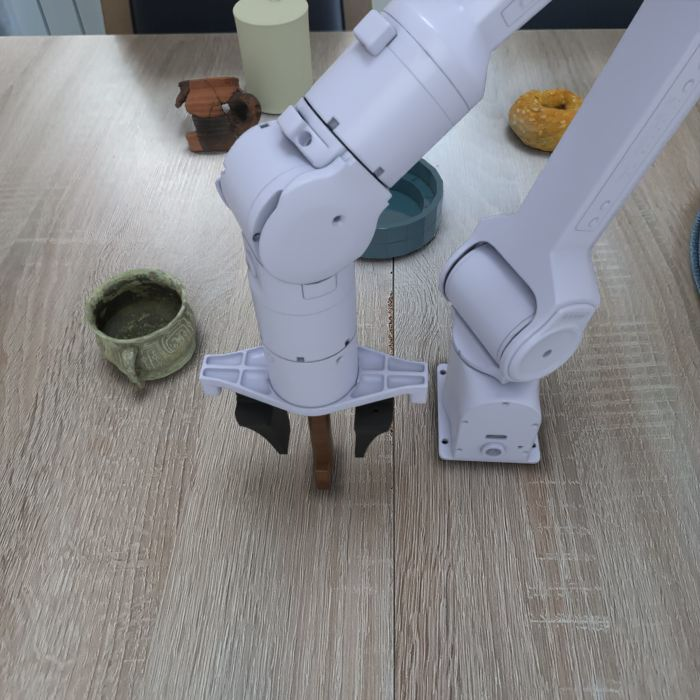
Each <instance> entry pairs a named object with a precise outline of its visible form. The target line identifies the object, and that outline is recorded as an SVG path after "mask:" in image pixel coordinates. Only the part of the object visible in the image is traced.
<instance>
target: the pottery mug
mask: <svg viewBox="0 0 700 700" xmlns="http://www.w3.org/2000/svg"><path fill="white" fill-rule="evenodd" d="M239 82H240V78H238V77H235V76H219V77H217V76H215V77H206V78H196V79H195V78H194V79H187V80H182V81H179V82H178V85H177V87H178V88H179V93H178V94H177V95H176V98H175V103H174V107H175V108H176V109H180V108H181V107H182V106H183V105H184V108H185V112H186V113H187V114H189V115H191V120H192V123H193V126H194V128H195V130H194V131H187V132H186V133H185V139H186V141H187V145H188V146H189V149H190V151H191V152H203V151H204V152H208V151H211V152H216V151H217V152H219V151H229V150H230V148H231V147H232V146H233V144H234V143H235V142H236V134H237V136H239V137H240V136H241V135H242V134H243V133H244V132H246V131H247V130H248V129H250V128H252V127H253V126H255V125H258V124H260V123H259V122H260V120H261V118H262V113H263V112H262V109H261V105H260V102H259V100H258V99H257V98H256V97H255V96H254V95H252V94H249V93H247V92H244V90H243V89H242V88H241V87H240V83H239ZM225 105H227V106H228V108H229V109H228V110H227V112H226V110H225V109H224V107H223V106H225Z"/></svg>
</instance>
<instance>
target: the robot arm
mask: <svg viewBox="0 0 700 700" xmlns="http://www.w3.org/2000/svg"><path fill="white" fill-rule="evenodd" d="M550 2H553V0H390V1H389V3H388V4H387V5H386V6H385V7H383V9H382V10H381V11H380V12H379V11H378V10H376V9H371V10H369V12H368V13H366V15H365V16H364V17H363V18H361V20H360V21H359V22H358V23H357V24H356V26H355V27H354V28H353V30H352V34H353V36H354V38H355V39H354V40H353V41H352V42H351V43H350V45H348V47H346V49H345V50H344V51H343V52H342V53H341V54H340V55H339V57H337V58H336V60H334V62H333V63H332V64H331V65H330V66H329V67H328V68H327V69H326V70H325V72H324V73H322V75H321V76H320V77H318V79H316V81H315V82H313V86H312V87H311V88H310V89H309V90H308V91H307V92H306V93H305V94H304V96H305V97H303V96H302V97H301V98H300V100H299V101H298V102H297V103H296V105H295V106H292V105H290V106H289V107H288V108H287V109H286V110H285V111H284V112H283V113H282V114H279V116H278V117H277V118H276V119H271V120H267V121H265V122H264V121H263V122H260V123H258V124H257V125H255V126H253V127H252V128H250V129H248V130H247V131H246V132H244V133H243V134H242V135H241V136H239V137H238V138H237V139H235V141H234V142H235V143H234V144H233V146H232V147H231V148H230V149H229V150H228V152H227V153H226V155H225V158H224V160H223V162H222V165H223V167H224V171H223V170H221V171H220V176H219V177H217V178H216V179H215V181H214V185H215V188H216V191H217V194H218V195H219V197H220V199H221V200H222V202H223V203H224V205H225V206H226V207H227V208H228V209H229V210H230V211H231V212H232V215H233V216H234V218H235V220H236V222H237V224H238V226H239V228H240V230H241V237H242V242H243V248H244V252H245V253H244V254H245V262H246V266H247V280H248V285H249V289H250V294H251V299H252V305H253V309H254V313H255V318H256V319H255V320H256V323H257V329H258V332H259V336H260V342H261V344H260V345H256V346H253V347H249V348H245V349H240V350H235V351H231V352H226V353H215V354H214V353H213V354H211V353H209V354H208V353H207V354H204V356H203V358H202V359H203V360H202V363H201V368H200V371H199V374H198V381H199V384H200V387H201V389H202V392H203V395H204V396H215V397H216V396H217V397H218V396H220V395H221V393H222V391H223V389H224V390H229V391H232V392H234V393H235V396H236V398H235V401H236V403H235V409H234V418H235V421H236V422H237V424H238V426H239V427H242V428H247V429H249V430H250V431H252V432H255V433H257V434H258V435H260V436H261V437H263V438H264V439H265V441H267V442H268V443H269V444H270V445H271V446H272V447H273V449H274V450H275V451H276V453H278V454H279V455H288V454H289V453H288V452H289V446H290V438H291V432H292V431H291V420H290V416H289V413H292V414H295V415H298V416H304V417H307V416H321V415H326V414H330V415H331V414H332V413H337V412H341V411H345V410H348V409H352V408H354V421H353V431H354V433H355V441H354V453H353V454H354V458H359V459H363V458H365V456H366V453H367V450H368V448H369V447H370V445H371V444H372V442H373V441H374V440H375V439H376V438H377V437H379V436H380V435H382V434H385V433H388V432H389V430H390V429H391V426H392V424H393V421H394V402H395V401H394V398H395V397H399V396H408V400H409V402H410V403H412V404H421V405H425V404H427V400H428V399H427V398H428V391H429V363H428V362H427V361H419V360H410V359H406V358H403V357H400V356H399V357H398V356H395V355H392V354H389V353H386V352H384V351H379V350H377V349H374V348H370V347H368V346H364V345H361V344H358V323H357V322H358V321H357V318H358V317H357V291H356V290H357V288H356V285H357V283H356V264H355V261H357V260H358V259H360V258H361V257H360V256H362V254H363V253H364V252H365V250H366V249H367V247H368V246H369V244H370V242H371V240H372V238H373V236H374V233H375V230H376V226H377V221H378V218H379V216H380V214H381V213H382V211H383V210H384V209H385V208H386V207H387V206H388V205H389V203H388V200H389V199H390V198H391V197H392V194H391V193H390V192H389V188H391V187H392V186H393V185H394V184H395V183H396V182H397V181H398V180H399V179H400V178H401V177H402V176H403V175H404V174H406V173H407V172H408V171H409V170H410V169H411V168H412V167H413V166H414V165H415V164H416V163H417V162H418V161H419V160H420V159H421V158H423V157H425V155H426V154H427V153H428V152H429V151H430V150H432V149H433V148H434V146H435V145H437V144H438V143H439V142H440V141H441V140H442V139H443V138H444V137H445V136H446V135H447V134H448V133H449V132H450V131H451V130H453V128H454V127H455V126H456V125H458V123H459V122H461V121H462V119H463V118H465V116H467V115H468V114H469V113H470V111H472V110H473V109H474V108H475V107H476V106H477V105H478V104H479V103H480V102H481V101H482V100H483V98H484V96H485V95H484V94H485V91H486V86H487V77H488V70H489V63H490V58H491V55H492V53H493V52H494V51H495V50H496V49H498V48H499V47H500V46H501V45H503V44H504V43H505V42H506V41H507V40H508V39H510V37H512V36H513V35H514V34H515V33H516V32H518V30H520V29H521V28H522V27H523V26H524V25H525V24H526V23H528V22H529V21H530V20H531V19H532V18H533V17H535V16H536V15H537V14H538V13H539V12H540V11H541V10H543V9H544V8H545V7H546V6H547V5H549V4H550ZM699 100H700V0H643V1H642V3H641V5H640V6H639V8H638V10H637V11H636V13H635V15H634V16H633V18H632V20H631V22H630V23H629V25H628V27H626V29H625V32H624V33H623V35H622V37H621V38H620V40H619V42H618V43H617V45H616V47H615V48H614V50H613V52H612V53H611V55H610V57H609V58H608V60H607V61H606V63H605V65H604V66H603V68H602V70H601V71H600V73H599V75H598V77H597V78H596V79H595V81H594V82H593V85H592V86H591V88H590V90H589V91H588V93H587V94H586V96H585V98H584V101H583V103H582V105H581V106H580V108H579V110H578V111H577V113H576V115H575V116H574V118H573V120H572V121H571V123H570V125H569V126H568V128H567V130H566V131H565V133H564V135H563V136H562V138H561V139H560V141H559V143H558V144H557V146H556V148H555V149H554V151H552V153H551V154H550V156H549V157H548V159H547V161H546V163H545V164H544V165H543V168H542V169H541V171H540V172H539V174H538V176H537V178H536V179H535V181H534V183H533V184H532V186H531V188H530V189H529V191H528V192H527V194H526V196H525V198H524V199H523V201H522V203H521V204H520V206H519V208H518V209H517V211H516V212H515V213H514V212H512V213H501V214H494V215H490V216H486V217H483V218H480V219H479V221H478V223H477V225H476V227H475V228H474V229H473V232H472V233H471V234H470V236H469V237H468V238H467V239H466V240H465V241H464V242H463V244H461V245H460V246H459V247H458V248H456V249H455V251H454V252H453V253H452V254H451V255H450V256H449V257H448V259H446V262H445V263H444V265H443V267H442V269H441V271H440V273H439V277H438V283H437V284H438V290H439V292H440V294H441V296H442V297H443V298H444V299H445V300H446V301H447V302H450V304H451V307H450V308H451V309H450V317H451V319H452V323H453V325H452V331H451V339H450V346H449V352H448V358H447V363H439V364H438V365H437V367H436V392H437V431H438V432H437V434H438V435H437V437H438V438H437V439H438V456H439V458H440V459H441V460H444V461H466V462H485V463H486V462H487V463H506V464H507V463H510V464H511V463H512V464H533V465H534V464H538V463H539V462H540V460H541V450H540V443H539V437H538V433H539V430H540V427H541V424H542V409H541V408H542V407H541V402H540V401H541V399H540V383H541V379H542V378H544V377H546V376H548V375H550V374H551V373H554V372H555V371H556V370H558V369H559V368H560V367H562V366H563V365H564V364H565V363H566V362H567V361H569V359H570V358H571V357H572V356H573V355H574V354H575V352H576V351H577V350H578V348H579V346H580V344H581V342H582V338H583V336H584V333H585V330H586V327H587V325H588V324H589V322H590V320H591V318H592V317H593V316H594V314H595V312H596V311H597V309H598V308H599V307H600V306H601V301H602V300H601V294H600V289H599V284H598V281H597V279H598V278H597V276H596V275H597V274H596V270H595V267H594V261H593V256H592V250H593V248H594V247H595V245H596V244H597V242H598V241H599V240H600V238H601V237H602V235H603V234H604V232H605V231H606V230H607V228H608V227H609V226H610V224H611V223H612V222H613V220H614V219H615V217H616V216H617V215H618V213H619V212H620V210H621V209H622V207H624V204H625V203H626V202H627V201H628V199H629V197H630V196H631V195H632V193H633V192H634V191H635V189H636V188H637V186H638V185H639V184H640V182H641V180H642V179H643V178H644V177H645V175H646V174H647V173H648V171H649V170H650V168H651V167H652V165H653V164H654V163H655V161H656V160H657V159H658V157H659V156H660V155H661V153H662V151H663V150H664V149H665V147H666V146H667V145H668V143H669V142H670V141H671V139H672V138H673V136H674V135H675V133H676V132H677V131H678V129H679V128H680V126H681V125H682V123H683V122H684V121H685V119H686V118H687V116H689V114H690V112H692V110H693V108H694V107H695V105H696V104H697V103H698V101H699ZM443 442H446V443H443ZM533 446H534V447H533Z"/></svg>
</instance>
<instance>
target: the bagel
mask: <svg viewBox="0 0 700 700" xmlns="http://www.w3.org/2000/svg"><path fill="white" fill-rule="evenodd" d="M584 100H585V99H584ZM584 100H583V99H582V98H581V97H580V96H579V95H578V94H577V93H574V92H573V91H571V90H568V89H564V88H560V87H558V88H556V89H552V88H550V89H546V90H537V89H531V90H529V91H527V92H525V93H523V94H522V95H520V96H519V97H517V98H516V100H515V101H514V103H513V104H512V105H511V107H510V109H509V111H508V114H507V118H508V123H509V125H510V128H511V129H512V131H513V132H514V133H515V134H516V136H517V137H518V138H519V140H521V143H523V144H524V145H526V146H528V147H530V148H533V149H538V150H540V151H543V152H553V151H554V149H555V148H556V146H557V144H558V143H559V141H560V139H561V138H562V136H563V135H564V133H565V131H566V130H567V128H568V126H569V125H570V123H571V121H572V120H573V118H574V116H575V115H576V113H577V111H578V110H579V108H580V106H581V105H582V103H583V101H584Z"/></svg>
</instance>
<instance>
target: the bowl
mask: <svg viewBox="0 0 700 700" xmlns="http://www.w3.org/2000/svg"><path fill="white" fill-rule="evenodd" d="M389 192H390V193H391V194H392V197H391V198H390V199H389V200H388V203H389V205H388V206H387V207H386V208H385V209H384V210H383V211H382V213H381V214H380V216H379V218H378V221H377V226H376V230H375V233H374V236H373V238H372V240H371V242H370V244H369V246H368V247H367V249H366V250H365V252H364V253H363V254H362V256H360V257H359V258H363V259H379V260H381V259H383V260H386V259H392V258H396V257H402V256H406V255H408V254H411V253H412V252H415V251H416V250H417V251H418V250H419V249H421V248H423V247H424V246H425V245H426V244H428V243H429V242H431V240H432V239H434V237H435V236H436V234H437V232H438V230H439V228H440V225H441V220H442V213H443V212H442V210H443V201H444V181H443V178H442V176H441V174H440V173H439V171H438V170H437V168H436V167H435V166H433V165H432V164H431V163H430V162H429V161H427V160H426V159H425V158H423V157H422V158H421V159H420V160H419V161H418V162H417V163H416V164H415V165H414V166H413V167H412V168H411V169H410V170H409V171H408V172H407V173H406V174H404V175H403V176H402V177H401V178H400V179H399V180H398V181H397V182H396V183H395V184H394V185H393V186H392V187H391V188H389Z"/></svg>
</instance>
